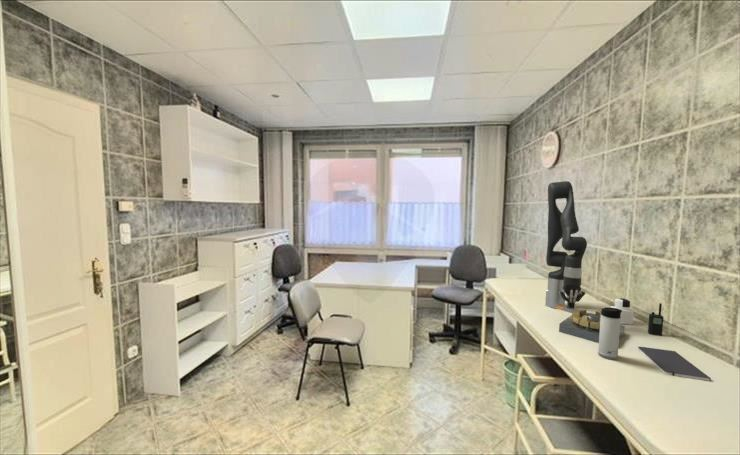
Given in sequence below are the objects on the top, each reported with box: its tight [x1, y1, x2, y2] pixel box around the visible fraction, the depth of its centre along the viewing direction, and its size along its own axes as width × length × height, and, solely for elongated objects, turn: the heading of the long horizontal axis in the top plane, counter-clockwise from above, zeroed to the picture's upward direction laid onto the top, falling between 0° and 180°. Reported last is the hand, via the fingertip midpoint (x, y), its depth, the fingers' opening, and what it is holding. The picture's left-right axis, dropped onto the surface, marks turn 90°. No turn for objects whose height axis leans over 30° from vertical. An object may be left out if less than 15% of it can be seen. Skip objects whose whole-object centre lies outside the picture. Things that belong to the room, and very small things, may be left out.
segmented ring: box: [556, 304, 601, 329], centre depth 150 cm, size 16×24×4 cm
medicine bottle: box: [609, 297, 635, 325], centre depth 162 cm, size 7×7×12 cm
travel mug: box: [597, 306, 622, 361], centre depth 124 cm, size 6×7×20 cm
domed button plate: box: [558, 312, 626, 344], centre depth 147 cm, size 21×21×8 cm
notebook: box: [637, 346, 712, 382], centre depth 120 cm, size 13×2×21 cm
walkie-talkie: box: [647, 303, 664, 337], centre depth 146 cm, size 5×3×15 cm
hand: (570, 309), depth 158 cm, fingers closed
